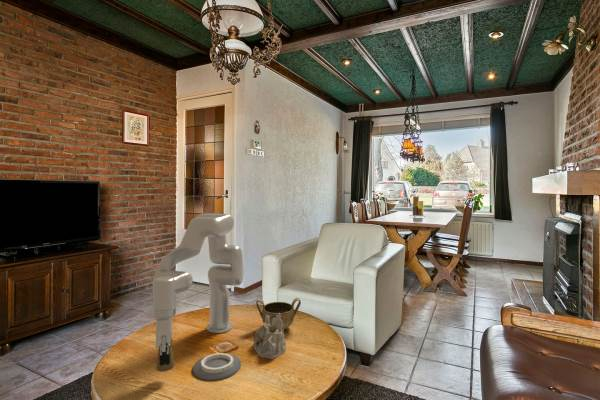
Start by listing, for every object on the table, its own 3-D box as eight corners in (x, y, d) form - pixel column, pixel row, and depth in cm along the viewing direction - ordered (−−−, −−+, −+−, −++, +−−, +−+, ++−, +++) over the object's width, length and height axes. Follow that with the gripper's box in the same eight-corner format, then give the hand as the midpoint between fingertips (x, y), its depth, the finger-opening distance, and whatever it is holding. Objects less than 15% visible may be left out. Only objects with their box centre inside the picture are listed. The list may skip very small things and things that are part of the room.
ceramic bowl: (299, 321, 174) (299, 293, 174) (301, 335, 157) (302, 304, 157) (256, 322, 172) (257, 293, 172) (254, 336, 156) (255, 305, 155)
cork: (159, 362, 122) (159, 333, 121) (176, 362, 122) (176, 333, 122) (153, 372, 116) (153, 341, 115) (171, 371, 116) (170, 341, 116)
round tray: (192, 359, 134) (192, 353, 134) (237, 352, 139) (237, 347, 139) (193, 384, 117) (193, 377, 117) (244, 375, 122) (244, 368, 122)
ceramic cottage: (261, 337, 155) (262, 306, 153) (292, 346, 147) (293, 314, 146) (242, 353, 141) (242, 320, 139) (275, 364, 134) (275, 329, 132)
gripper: (155, 304, 124) (156, 351, 125) (150, 322, 109) (151, 375, 110) (176, 302, 127) (177, 348, 128) (174, 319, 111) (175, 371, 112)
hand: (165, 360), depth 119 cm, fingers closed on cork, 4 cm apart
